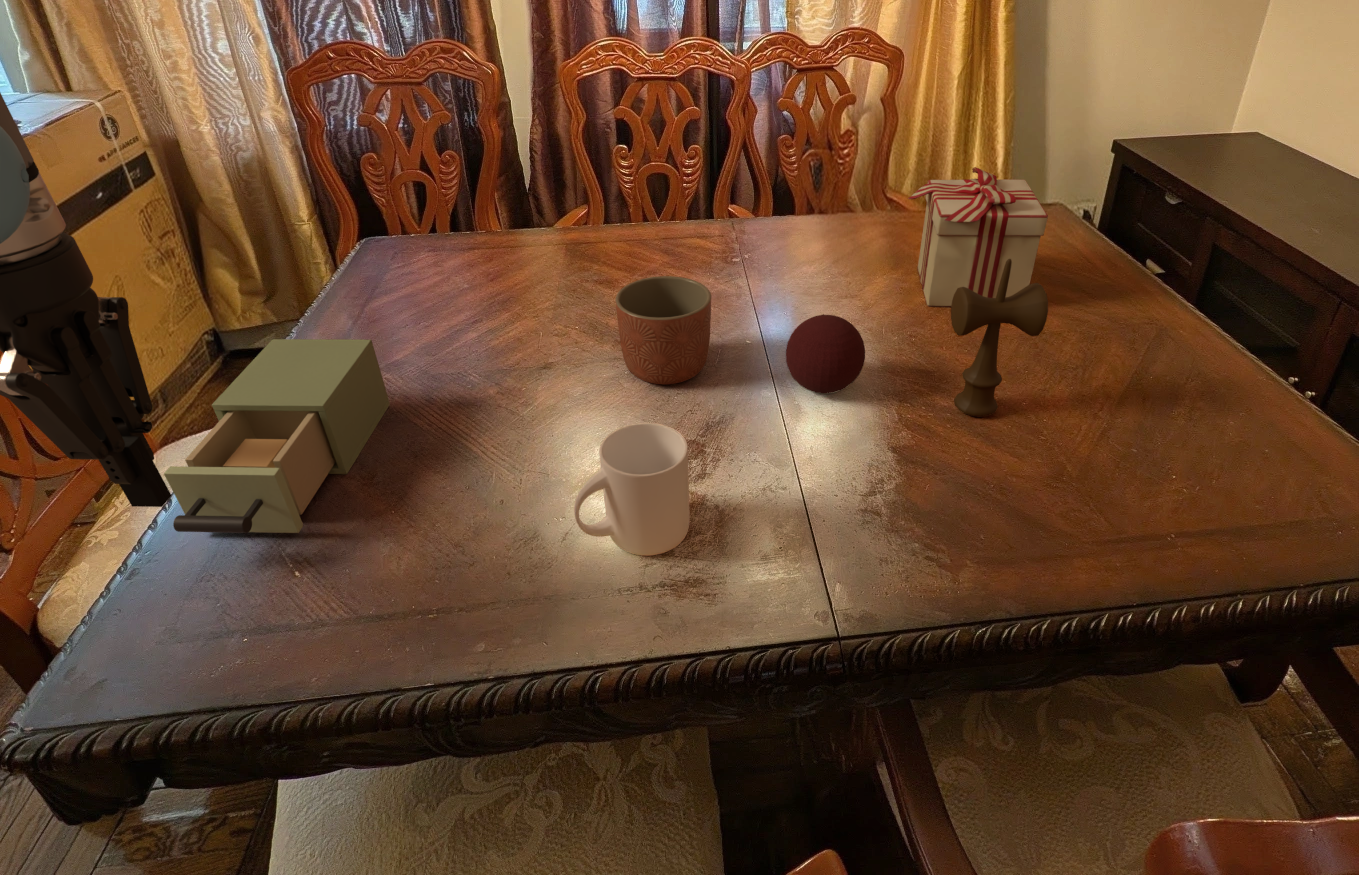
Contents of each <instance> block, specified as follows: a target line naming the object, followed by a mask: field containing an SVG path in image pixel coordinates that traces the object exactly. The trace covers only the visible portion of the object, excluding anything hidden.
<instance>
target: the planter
mask: <svg viewBox="0 0 1359 875" xmlns="http://www.w3.org/2000/svg"><path fill="white" fill-rule="evenodd" d="M614 303H615V308H616V309H615V310H616V318H617V326H618V334H619V341H620V348H621V351H622V357H623V361H624V363H625V365H626V368H627V369H628V371H629V372H630V373H631V374H632V375H633V376H634V377H635V378H637V379H639V380H641V381H644V382H646V383H650V384H655V385H675V384H680V383H682V382H686V381H688V380H691V379H692V378H694V377H696V376H697V375H698V374H699V373H700V372H702V370H703V369H704V367H705V366H706V363H707V360H708V356H709V350H710V343H711V342H710V341H711V340H710V339H711V323H712V322H711V320H712V293H711V291H710V290H709V288H708V287H707V286H705V284H703V283H701V282H699V281H697V280H694V279H691V278H689V277H688V278H687V277H682V276H675V275H674V276H672V275H661V276H659V275H658V276H650V277H646V278H641V279H637V280H635V281H632V282H630V283H628V284H627V285H625V286H623V287H622V288H620V290H619V291H618V292H617V293H616V295H615V302H614Z"/></svg>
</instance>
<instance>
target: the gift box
mask: <svg viewBox="0 0 1359 875" xmlns="http://www.w3.org/2000/svg"><path fill="white" fill-rule="evenodd" d="M971 170H972V171H971V172H972V173H974V174H975V173H976V174H977V178H971V179H970V178H969V179H928V180H927V183H926V184H924V185H922V186H921V187H920V188H918V189H917V190H916V191H915V192H914V193H913V194H912V195H911V196H909V197H908V198H907V200H916V199H918V198H920V197H925V198H924V199H925V201H926V206H925V213H924V219H923V227H922V235H921V241H920V248H919V254H918V262H917V271H918V275H919V282H920V284H921V286H922V287H921V288H922V292H923V296H924V300H925V303H926V306H927V307H942V308H943V307H950V308H951V305H952V300H953V296H954V294H955V292H956V290H957V288H960V287H966V288H968V289H970V290H972V291H974V292H975V293H977V294H979V295H981V296H984V297H988V298H996V295H997V291H998V288H999V284H1000V280H1001V277H1002V273H1003V270H1004V266H1005V264H1006V261H1007V260H1008V259H1011V261H1012V264H1011V271H1010V277H1009V282H1008V287H1007V292H1006V297H1009V296H1012V295H1014V294H1015V293H1017V292H1019V291H1020V290H1022V289H1023V288H1025V287H1026V286H1028V285H1030V284H1031V279H1032V275H1033V272H1034V268H1035V262H1036V259H1037V254H1038V250H1039V246H1040V241H1041V237H1043V236H1045V231H1046V228H1047V223H1048V218H1049V215H1048V213H1047V212H1046V210H1045V209H1044V207H1043V206H1042V204H1041V203H1040V201H1039V199H1038V198H1037V196H1036V195H1035V193H1034V191H1033V190H1032V189H1031V187H1030V185H1029V184H1028V183H1029V182H1027V181H1026V179H997V178H998V176H997V175H996V174H993V173H990V172H988V171H985V170H983V169H981V168H979V167H976V166H974V167H972V169H971Z"/></svg>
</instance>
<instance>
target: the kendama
mask: <svg viewBox="0 0 1359 875" xmlns="http://www.w3.org/2000/svg"><path fill="white" fill-rule="evenodd" d="M1011 264H1012V261H1011V259H1008V260H1007V261H1006V264H1005V266H1004V270H1003V273H1002V277H1001V280H1000V284H999V288H998V291H997V295H996V298H988V297H984V296H981V295H979V294H977V293H975V292H974V291H972V290H970V289H968V288H966V287H960V288H957V290H956V292H955V294H954V296H953V300H952V305H951V307H950V321H951V327H952V329H953V332H954V333H955V334H956V335H957V336H959V337H962V336H966V335H969V334H971V333H973V332H974V331H977V330H978V329H980V328H982V327H984V326H986V329H985V331H984V335H983V338H982V340H981V343H980V346H979V348H978V351H977V353H976V356H975V358H974V360H973V362H972V364H971V365H970V366H969V367H967V368H965V369H963V371H962V373H961V374H962V379H963V380H964V387H963V390H962V391H960V392H959V393H957V394H956V396H955V397H954V399H953V401H954V406H955V407H956V409H957V410H958V411H960V412H961V413H963V414H964V415H968V416H971V417H979V418H983V417H988V416H991V415H993V414H996V412H997V410H998V408H999V405H998V401H997V400H996V398H995V391H996V388H997V387H998V386H1000V385H1001V382H1002V381H1003V378H1002V375H1001V373H1000V372H999V371H998V349H999V339H1000V332H1001V331H1000V330H1001V325H1002V324H1006V325H1008V324H1009V325H1012V326H1014V327H1015V328H1017V329H1019V330H1021V331H1022V332H1023V333H1024V334H1027V335H1028V336H1030V337H1038V336H1039V335H1041V333H1042V332H1043V330H1044V329H1045V326H1046V323H1047V321H1048V320H1047V319H1048V314H1049V300H1048V295H1047V292H1046V290H1045V288H1044V286H1043V285H1042V284H1040V283H1039V282H1034V283H1030V285H1028V286H1026V287H1025V288H1023V289H1022V290H1020V291H1019V292H1017V293H1015V294H1014V295H1012V296H1009V297H1006V292H1007V287H1008V282H1009V277H1010V271H1011Z"/></svg>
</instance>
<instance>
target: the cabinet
mask: <svg viewBox="0 0 1359 875" xmlns="http://www.w3.org/2000/svg"><path fill="white" fill-rule="evenodd" d="M390 405H391V402H390V399H389V395H388V392H387V388H386V384H385V382H384V378H383V375H382V371H381V368H380V364H379V360H378V357H377V354H376V350H375V347H374V343H373V341H372V339H355V338H354V339H353V338H352V339H351V338H350V339H347V338H345V339H340V338H339V339H337V338H336V339H335V338H334V339H331V338H330V339H329V338H328V339H327V338H326V339H324V338H323V339H321V338H319V339H318V338H314V339H313V338H310V339H309V338H307V339H306V338H303V339H302V338H298V339H297V338H272V339H271V341H270V342H268V343H267V344H266V346H265V347H264V348H263V349H262V350H261V351H260V352H259V353H258V354H257V355H256V357H254V359H253V360H251V362H249V364H248V365H247V366H246V367H245V368H244V370H242V371H241V373H240V374H238V376H237V377H236V378H235V379H234V380H233V381H232V382H231V383H230V385H228V386H227V387H226V388H225V389H224V391H222V393H221V394H220V395H219V396H218V397H217V398H216V400H214V402H213V403H212V404H211V407H212V409H213V411H214V413H215V415H216V418H217V421H218V422H219V421H220V420H221V419H222V418H223V417H224V415H225V414H226V413H227V412H228V411H319V414H320V417H321V420H322V423H323V426H324V429H325V431H326V434H327V437H328V440H329V443H330V445H331V448H332V451H333V454H334V457H335V460H336V462H335V464H334V465H333V467H332V468H331V470H330V471H329V473H328V475H348V474H349V472H350V470H351V468H352V467H353V465H354V463H355V462H356V461H357V459H358V457H359V455H360V454H361V452H362V451H363V449H364V447H365V446H366V444H367V442H368V441H369V439H370V438H371V436H372V434H373V433H374V432H375V429H376V428H377V426H378V425H379V423H380V421H381V420H382V418H383V416H384V415H385V413H386V412H387V410H388V409H389V406H390Z"/></svg>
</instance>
